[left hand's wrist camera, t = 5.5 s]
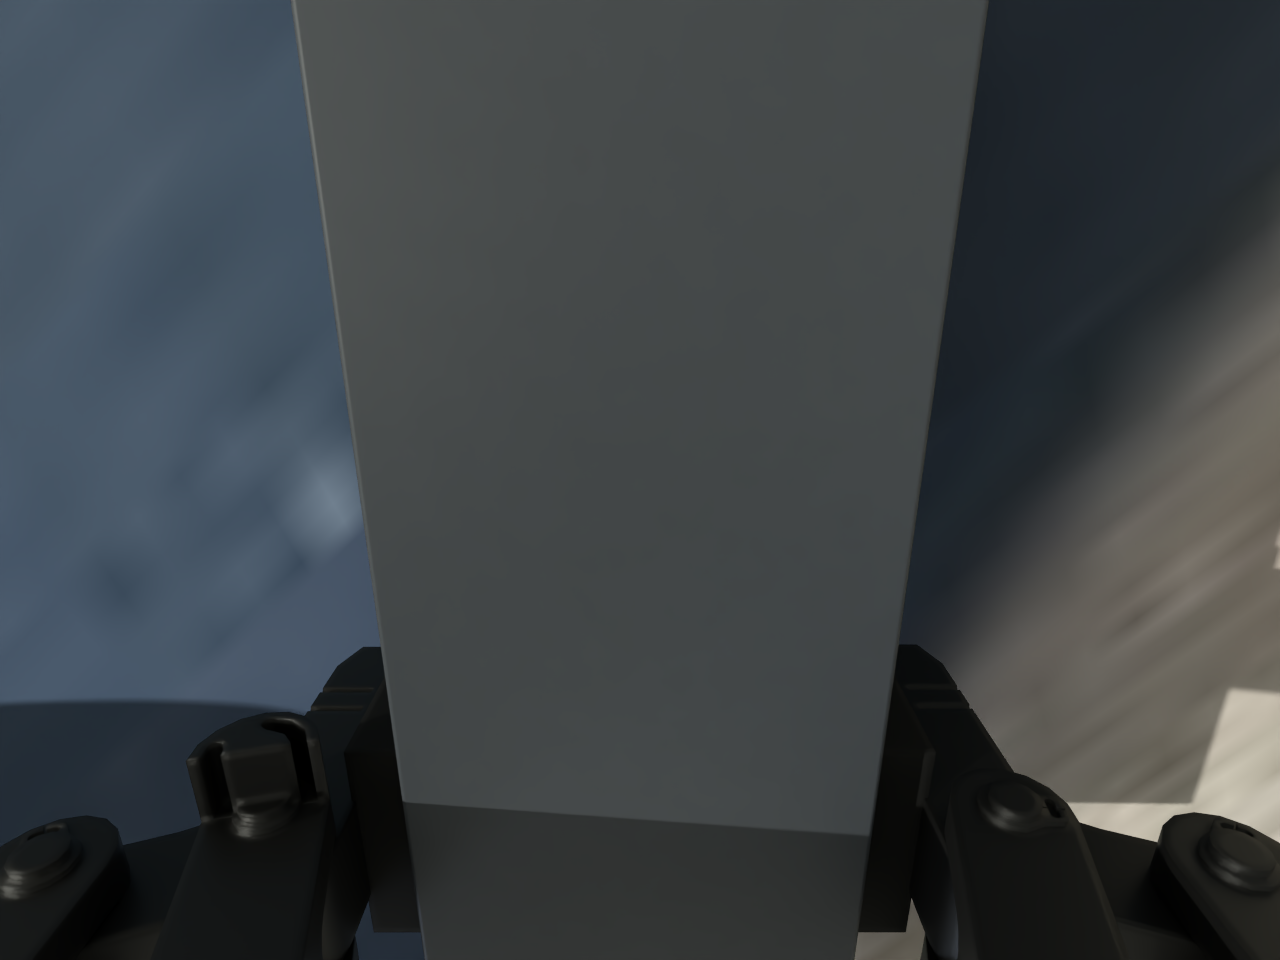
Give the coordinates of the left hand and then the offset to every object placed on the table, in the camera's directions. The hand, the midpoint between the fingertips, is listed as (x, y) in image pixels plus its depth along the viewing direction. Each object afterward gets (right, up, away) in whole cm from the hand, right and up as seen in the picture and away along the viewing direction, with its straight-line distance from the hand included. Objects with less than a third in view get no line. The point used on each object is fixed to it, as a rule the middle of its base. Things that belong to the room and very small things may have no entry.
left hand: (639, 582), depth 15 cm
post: (0, +33, -12) cm, 35 cm away
